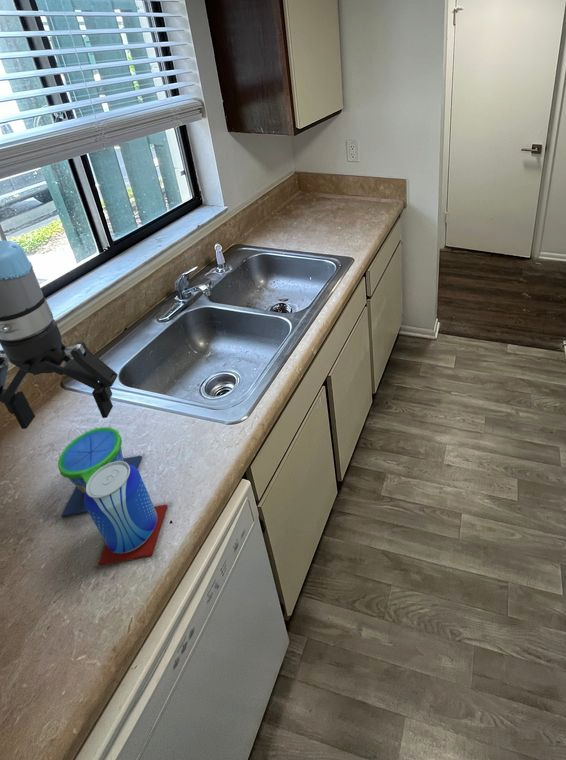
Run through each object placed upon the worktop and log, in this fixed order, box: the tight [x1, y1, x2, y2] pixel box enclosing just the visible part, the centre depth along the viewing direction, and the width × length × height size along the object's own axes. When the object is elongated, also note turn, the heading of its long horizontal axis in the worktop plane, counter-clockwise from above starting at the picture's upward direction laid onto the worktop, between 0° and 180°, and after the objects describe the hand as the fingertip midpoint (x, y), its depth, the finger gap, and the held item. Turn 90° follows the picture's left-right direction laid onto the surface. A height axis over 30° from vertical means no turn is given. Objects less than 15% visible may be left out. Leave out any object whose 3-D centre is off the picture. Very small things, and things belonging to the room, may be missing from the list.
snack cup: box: [57, 426, 124, 494], centre depth 90 cm, size 16×10×10 cm
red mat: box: [97, 504, 168, 567], centre depth 83 cm, size 9×9×1 cm
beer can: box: [84, 461, 157, 553], centre depth 79 cm, size 8×8×16 cm
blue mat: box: [61, 455, 143, 518], centre depth 91 cm, size 11×11×1 cm
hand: (68, 417), depth 83 cm, fingers open, 13 cm apart
